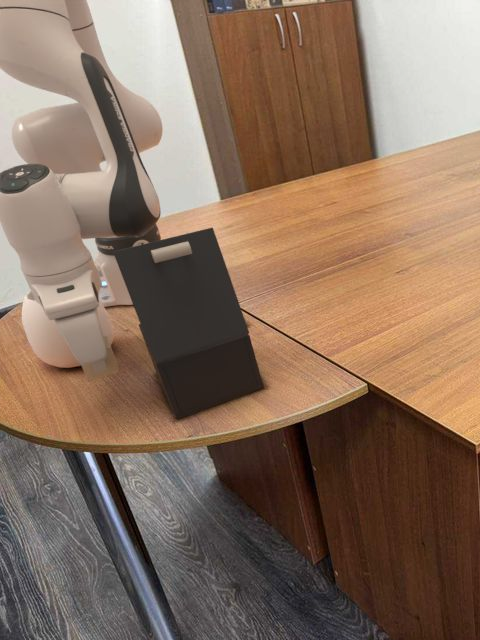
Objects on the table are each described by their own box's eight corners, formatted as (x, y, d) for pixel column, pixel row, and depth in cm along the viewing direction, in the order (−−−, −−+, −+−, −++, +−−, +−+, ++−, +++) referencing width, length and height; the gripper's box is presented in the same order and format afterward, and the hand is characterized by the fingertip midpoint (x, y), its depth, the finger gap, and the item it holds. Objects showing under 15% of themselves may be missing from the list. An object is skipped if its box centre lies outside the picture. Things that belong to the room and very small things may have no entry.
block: (85, 368, 103) (74, 344, 101) (116, 359, 105) (106, 335, 103) (88, 381, 100) (77, 357, 98) (119, 372, 102) (110, 347, 99)
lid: (112, 251, 91) (112, 249, 87) (212, 227, 97) (216, 224, 93) (155, 362, 95) (157, 365, 90) (248, 333, 101) (254, 334, 96)
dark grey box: (157, 374, 111) (138, 324, 106) (237, 348, 117) (222, 299, 112) (176, 419, 100) (156, 365, 95) (264, 388, 106) (249, 335, 101)
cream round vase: (30, 360, 118) (-3, 294, 111) (103, 331, 126) (77, 267, 119) (57, 385, 111) (24, 315, 104) (133, 351, 119) (107, 285, 112)
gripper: (37, 263, 100) (70, 339, 108) (44, 315, 86) (83, 399, 93) (82, 252, 103) (111, 328, 111) (97, 301, 88) (130, 384, 96)
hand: (99, 361), depth 102 cm, fingers closed on block, 4 cm apart
